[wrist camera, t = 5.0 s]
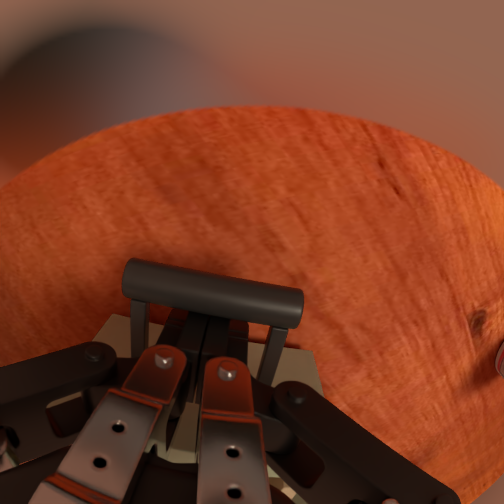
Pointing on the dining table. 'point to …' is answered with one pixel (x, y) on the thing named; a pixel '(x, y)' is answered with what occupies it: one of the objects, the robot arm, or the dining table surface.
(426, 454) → the dining table surface
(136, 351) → the drawer
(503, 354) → the pill bottle
